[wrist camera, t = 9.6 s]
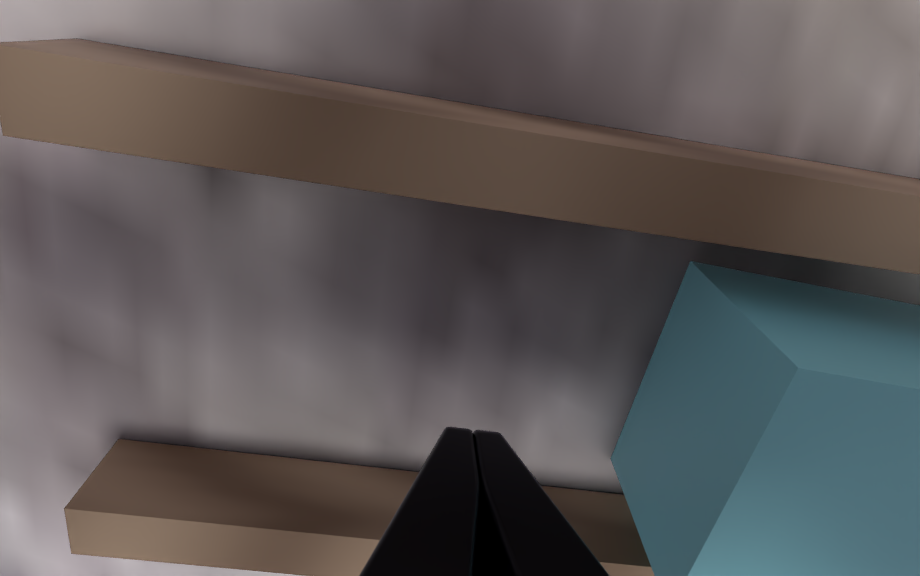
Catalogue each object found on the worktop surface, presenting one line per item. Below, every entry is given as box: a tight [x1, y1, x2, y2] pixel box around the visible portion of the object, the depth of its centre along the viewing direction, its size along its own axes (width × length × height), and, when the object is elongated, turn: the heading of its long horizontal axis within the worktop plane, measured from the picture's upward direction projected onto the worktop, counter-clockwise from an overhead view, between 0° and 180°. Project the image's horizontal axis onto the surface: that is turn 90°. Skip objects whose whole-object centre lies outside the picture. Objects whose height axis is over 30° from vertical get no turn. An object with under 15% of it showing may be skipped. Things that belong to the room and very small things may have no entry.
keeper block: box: [611, 261, 920, 576], centre depth 11 cm, size 7×5×4 cm
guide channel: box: [0, 39, 920, 576], centre depth 11 cm, size 20×9×3 cm, turn 81°
